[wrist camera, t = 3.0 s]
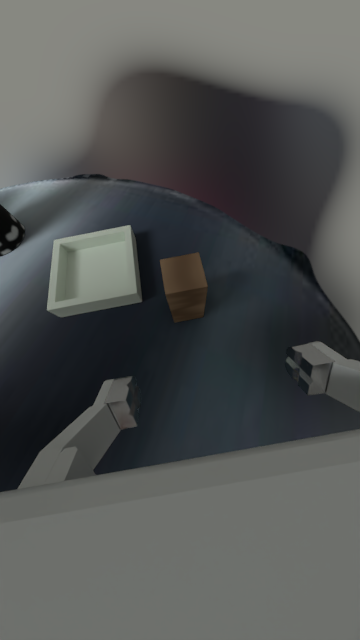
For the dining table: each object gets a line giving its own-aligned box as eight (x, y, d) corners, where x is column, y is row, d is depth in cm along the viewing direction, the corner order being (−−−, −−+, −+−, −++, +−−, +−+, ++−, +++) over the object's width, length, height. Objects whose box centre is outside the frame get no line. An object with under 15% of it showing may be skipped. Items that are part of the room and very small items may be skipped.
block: (174, 322, 24) (165, 294, 16) (169, 296, 25) (159, 259, 18) (203, 317, 24) (207, 286, 16) (197, 291, 25) (198, 252, 18)
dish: (61, 317, 25) (46, 310, 23) (65, 251, 30) (53, 240, 27) (142, 301, 25) (137, 293, 23) (135, 238, 29) (130, 225, 27)
